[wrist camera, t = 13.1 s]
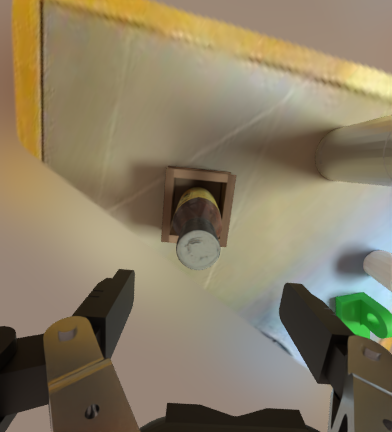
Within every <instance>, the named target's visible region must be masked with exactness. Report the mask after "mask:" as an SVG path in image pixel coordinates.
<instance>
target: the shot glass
mask: <svg viewBox="0 0 392 432" xmlns="http://www.w3.org/2000/svg"><path fill="white" fill-rule="evenodd" d="M363 269H364V270H365V272H366V273H367V274H369V275H370V276H371V277H373V278H374V279H375V280H377V281H378V282H379V283H381V284H382V285H383V286H385V287H386V288H387V289H389V290H390V291H391V292H392V253H389V252H386V251H382V250H377V251H373V252H371V253H370V254H368V255H367V257H366V258H365V259H364V263H363Z"/></svg>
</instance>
